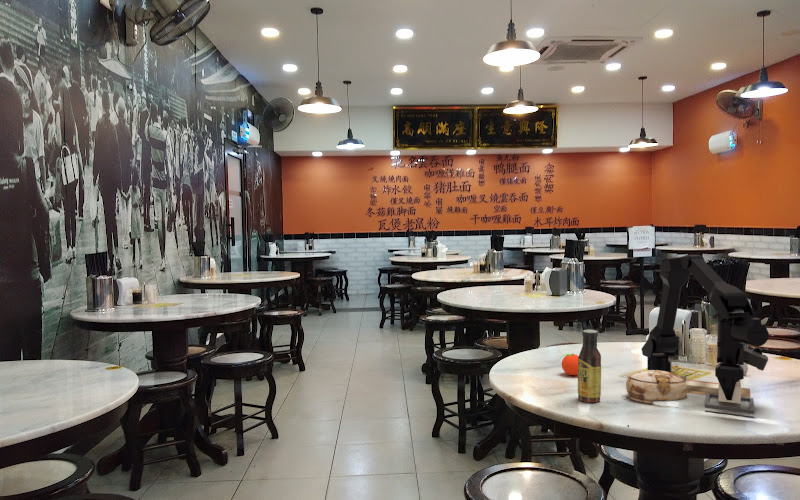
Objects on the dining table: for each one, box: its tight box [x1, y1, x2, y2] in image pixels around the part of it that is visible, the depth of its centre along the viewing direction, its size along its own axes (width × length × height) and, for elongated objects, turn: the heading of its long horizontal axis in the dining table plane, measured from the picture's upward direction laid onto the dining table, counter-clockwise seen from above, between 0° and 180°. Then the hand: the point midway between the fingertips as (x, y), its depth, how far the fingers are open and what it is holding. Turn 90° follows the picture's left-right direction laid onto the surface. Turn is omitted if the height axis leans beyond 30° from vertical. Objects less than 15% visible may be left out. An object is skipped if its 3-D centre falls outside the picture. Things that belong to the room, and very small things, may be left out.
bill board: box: [679, 375, 752, 398], centre depth 163 cm, size 18×12×4 cm, turn 60°
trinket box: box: [625, 370, 688, 404], centre depth 160 cm, size 13×15×8 cm
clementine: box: [558, 353, 579, 376], centre depth 186 cm, size 8×7×7 cm
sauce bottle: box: [577, 329, 602, 404], centre depth 160 cm, size 7×6×20 cm
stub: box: [718, 380, 742, 404], centre depth 150 cm, size 5×6×5 cm
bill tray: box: [704, 393, 755, 419], centre depth 151 cm, size 11×11×2 cm
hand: (729, 396), depth 151 cm, fingers closed on stub, 6 cm apart
